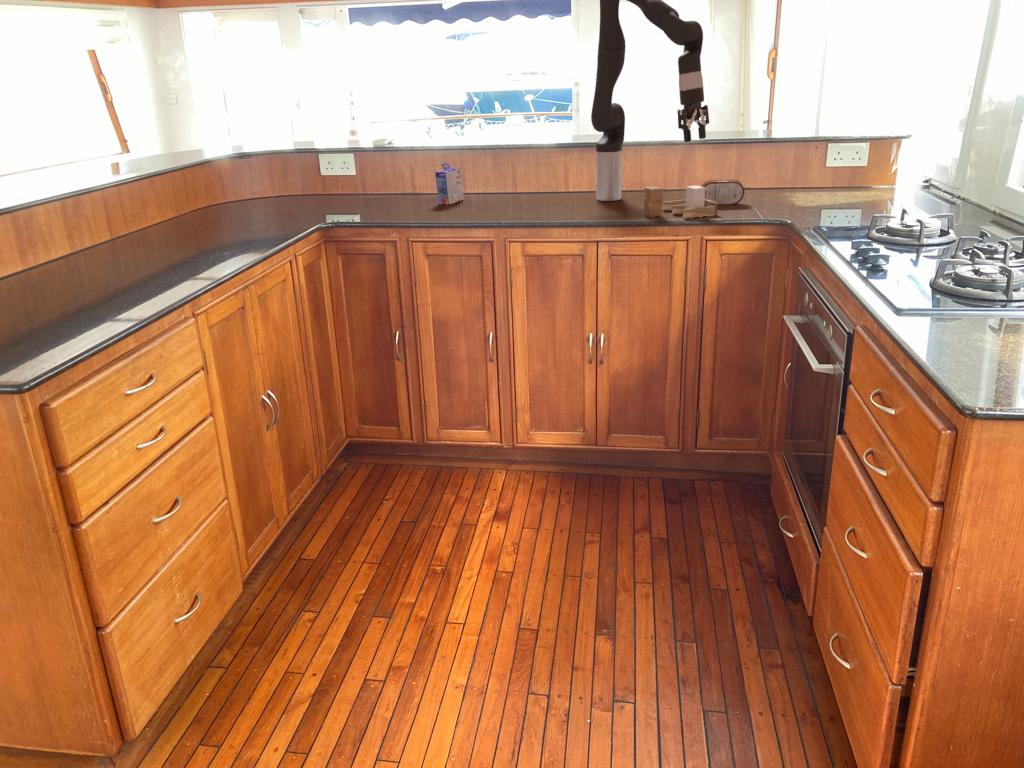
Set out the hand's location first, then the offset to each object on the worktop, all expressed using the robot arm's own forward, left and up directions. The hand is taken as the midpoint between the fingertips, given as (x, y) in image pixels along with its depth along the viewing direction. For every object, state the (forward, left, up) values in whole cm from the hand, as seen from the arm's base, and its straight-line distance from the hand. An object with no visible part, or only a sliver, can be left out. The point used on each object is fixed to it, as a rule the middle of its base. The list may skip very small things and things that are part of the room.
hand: (695, 140), depth 261 cm
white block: (+10, -4, -22) cm, 25 cm away
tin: (-1, +12, -23) cm, 25 cm away
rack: (+6, -4, -22) cm, 24 cm away
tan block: (+4, -16, -22) cm, 28 cm away
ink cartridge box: (-57, -71, -23) cm, 94 cm away
